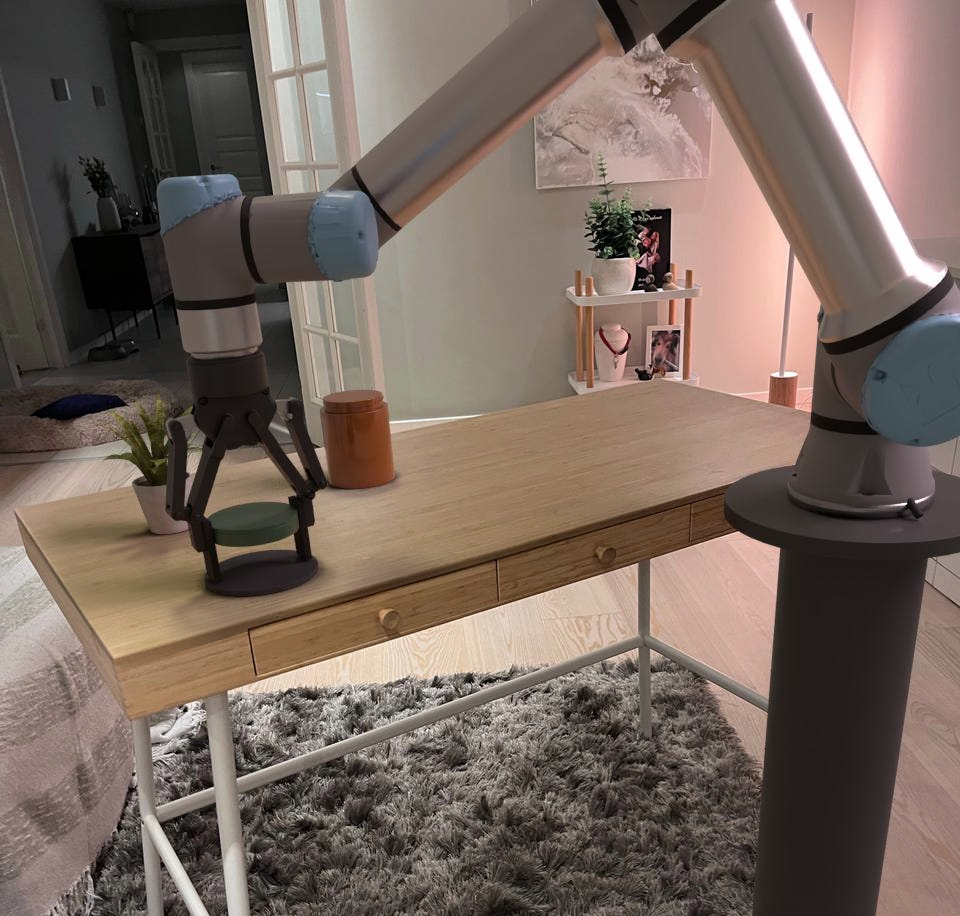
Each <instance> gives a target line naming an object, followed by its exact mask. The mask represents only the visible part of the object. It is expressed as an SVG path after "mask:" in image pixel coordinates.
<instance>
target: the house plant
mask: <svg viewBox="0 0 960 916" xmlns="http://www.w3.org/2000/svg"><path fill="white" fill-rule="evenodd" d="M133 397H134V401H135V402H136V405H137V407H138V409H139V412H140V413H137V416H139V417H140V418H141V420H142V422H143V423H144V425H145V429H146V433H147V437H148V439H149V442H150V450H149V447H148V445H147V443H146V441H145V439H144V438H143V436H142V435H141V433H140V430H139V429H138V427H137V425H136V424H135V423H134V422H133V420H130V422H129V420H127V419H126V418H124V417H122V416H121V415H119V414H118V413H117V412H115V411H112V410H109V409H106V411H107V412H108V414H110V415H111V417H112V418H114V419H115V421H116V422H117V423H118V425H119V426H120V427H121V429H122V431H123V433H124V434H125V435H126V436H125V435H124V434H122V433H121V432H119V431H118V430H116V429H115V428H113V427H111V426H109V425H108V424H105V423H101V422H100V425H102V426H103V427H105V428H107V429H108V430H110V431H111V432H113V434H114V435H116V436H118V438H120V439H122V440H123V441H124V443H126V444H127V445H128V446H129V447H130V448H131V452H127V451H126V452H123V453H120V454H117V453H114V454H110V455H107V456H105V457H104V459H103V460H102V462H104V461H108V460H124V461H128V462H130V463H132V464H133V465H135V467H137V469H138V470H139V471H140V472H141V474H142V475H141V476H139V477H136V478H135V479H134V480H132V481H131V485H132V488H133V490H134V493H135V495H136V498H137V502H138V504H139V505H140V508H141V511H142V513H143V516H144V518H145V521H146V522H147V525H148V529H149V530H150V532H151V533H153V534H157V535H172V534H177V533H181V532H184V531H187V530H188V525H187V522H186V521H175V520H173V519H172V518H171V517H170V516H169V515H168V514H167V513H166V511H165V503H166V484H167V465H168V446H169V440H168V439H167V441H166V443H165V438H166V437H167V434H166V431H165V427H164V423H163V422H164V419H165V418H167V417H168V416H167V414H166V411H165V408H166V406H165V405H166V403H165V400H163V401H162V398H161V396H160V393H158V394H157V399H156V409H155V412H154V417H153V420H151V419H150V416H149V415H148V413H147V412H146V410H145V408H144V407H143V405H142V403H141V402H140V401H139V399H137V398H136V397H135V396H133ZM192 407H193V405H192V406H190V407H189V408H188V409H186V410H185V411H184V412H183V413H182V414H181V415H180V417H182V416H185V415H189V414H191V410H192ZM200 433H201V431H200V432H195V433H193V434H192V433H191V437H190V438H189V439H187V446H188V451H191V452H190V453H189V454H188V456H187V459H188V458H189V456H190V455H191V454H192V453H193V452H194V451H196V450H198V451H202V446H203V444H199V445H197V444H196V443H190V442H189V441H190V439H191V438H192V437H194V436H196V435H198V434H200ZM193 445H194V446H193ZM192 484H193V477H192V474H191V473H190V472H189V471H186V488H185V505H184V506H186V503H187V500H188V497H189V494H190V490H191V487H192Z"/></svg>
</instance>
